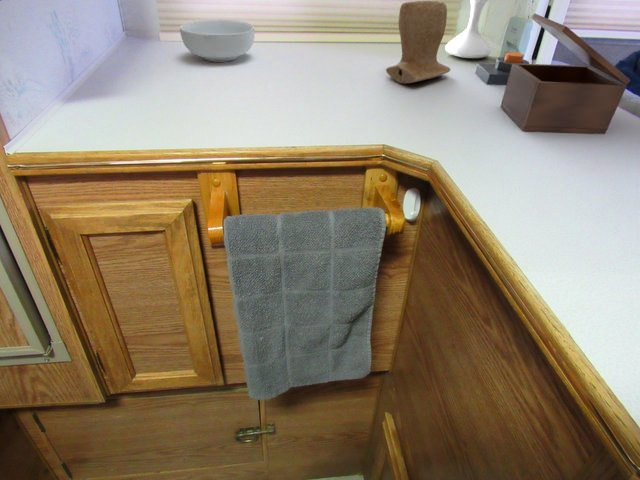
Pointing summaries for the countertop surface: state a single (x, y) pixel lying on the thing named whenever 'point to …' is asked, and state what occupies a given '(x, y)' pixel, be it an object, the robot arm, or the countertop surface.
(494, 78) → the button block
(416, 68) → the brown flared post
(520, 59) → the button
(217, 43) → the cereal bowl
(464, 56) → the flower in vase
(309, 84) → the countertop surface
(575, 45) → the lid
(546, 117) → the chest
